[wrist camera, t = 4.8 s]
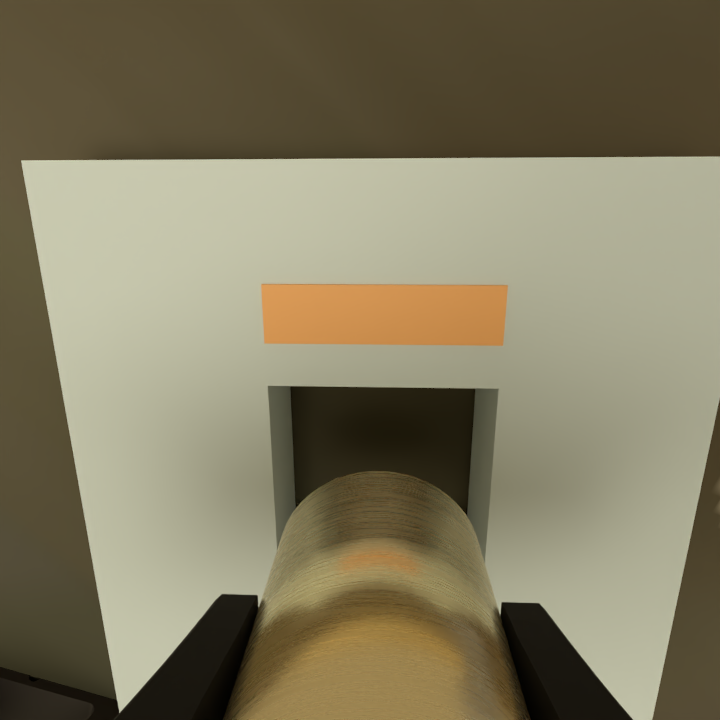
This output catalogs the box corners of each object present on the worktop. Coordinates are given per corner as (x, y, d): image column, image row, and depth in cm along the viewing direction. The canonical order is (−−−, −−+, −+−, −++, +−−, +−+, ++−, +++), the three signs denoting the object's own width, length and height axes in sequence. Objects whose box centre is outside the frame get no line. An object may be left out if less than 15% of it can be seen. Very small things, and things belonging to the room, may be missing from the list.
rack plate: (690, 164, 14) (773, 156, 11) (608, 651, 19) (650, 737, 16) (93, 167, 15) (18, 159, 12) (159, 636, 19) (117, 715, 16)
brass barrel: (492, 478, 10) (643, 842, 4) (468, 653, 11) (564, 1138, 5) (281, 463, 10) (141, 797, 4) (277, 637, 11) (162, 1096, 5)
